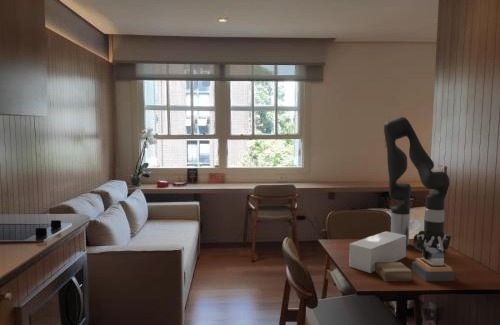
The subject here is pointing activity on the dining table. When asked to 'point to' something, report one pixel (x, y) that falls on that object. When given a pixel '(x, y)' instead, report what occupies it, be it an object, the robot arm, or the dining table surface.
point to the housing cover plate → (435, 253)
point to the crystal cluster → (423, 242)
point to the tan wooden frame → (432, 271)
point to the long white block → (377, 250)
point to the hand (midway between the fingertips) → (432, 258)
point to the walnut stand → (393, 271)
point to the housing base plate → (434, 261)
